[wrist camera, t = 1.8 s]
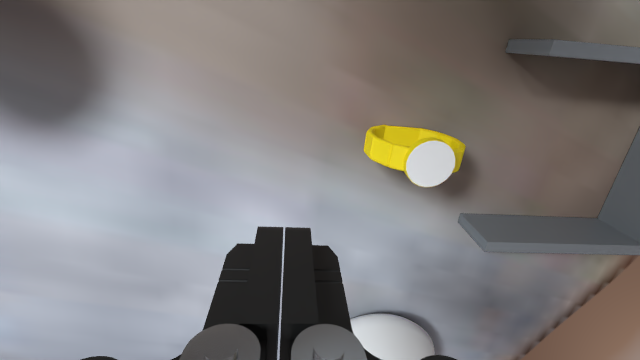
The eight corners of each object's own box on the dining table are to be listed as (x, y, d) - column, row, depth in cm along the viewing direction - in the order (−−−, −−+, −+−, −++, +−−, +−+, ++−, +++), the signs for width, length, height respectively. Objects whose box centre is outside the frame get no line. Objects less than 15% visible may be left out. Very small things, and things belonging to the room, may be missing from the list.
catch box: (509, 39, 21) (554, 39, 18) (684, 55, 23) (760, 58, 19) (457, 222, 27) (484, 251, 23) (602, 226, 28) (648, 255, 24)
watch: (357, 150, 24) (369, 183, 18) (363, 112, 23) (377, 134, 17) (438, 158, 24) (474, 192, 19) (448, 120, 23) (489, 145, 18)
